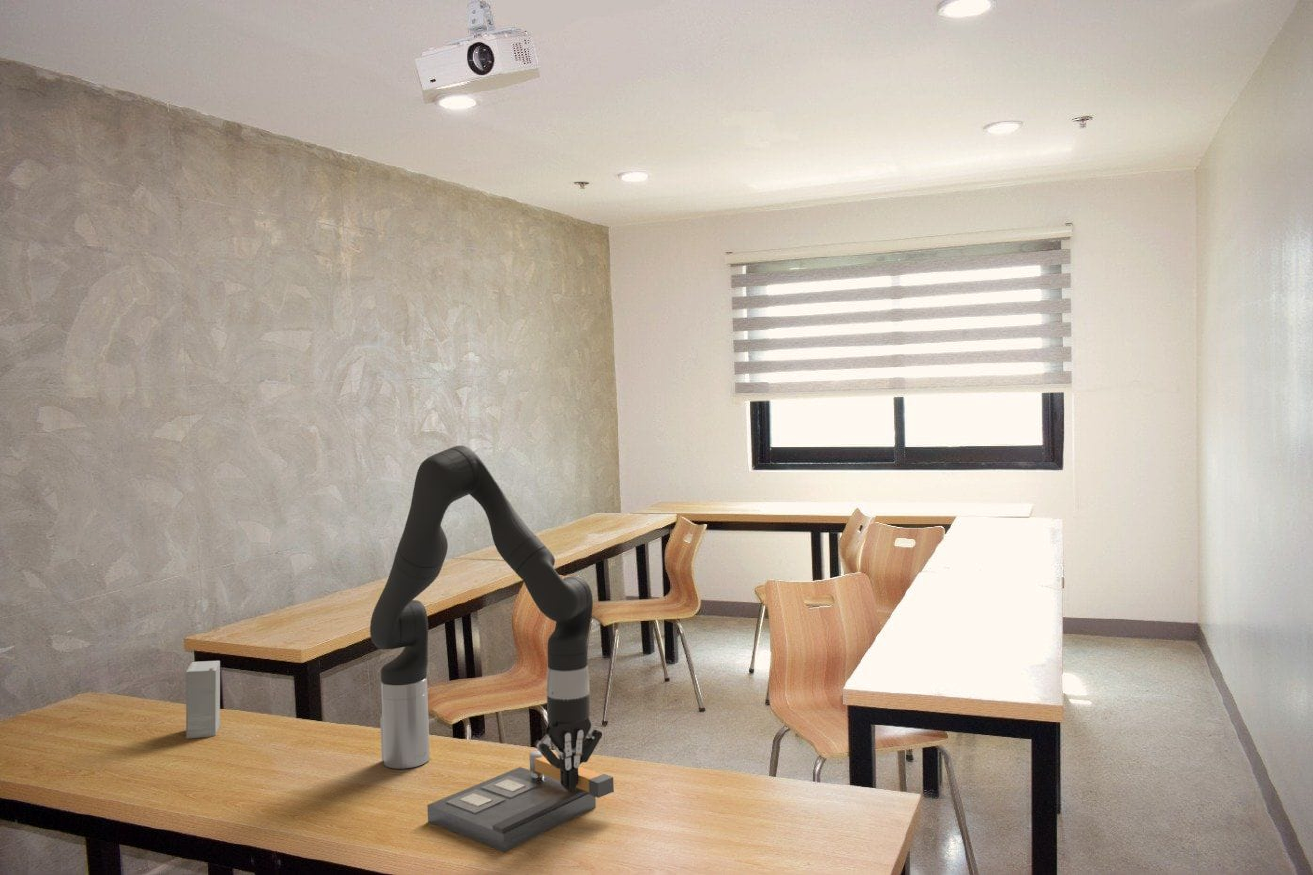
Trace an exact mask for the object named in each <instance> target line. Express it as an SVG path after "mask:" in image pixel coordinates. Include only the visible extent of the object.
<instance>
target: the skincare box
mask: <svg viewBox="0 0 1313 875" xmlns="http://www.w3.org/2000/svg"><path fill="white" fill-rule="evenodd" d="M185 677H186V678H185V680H186V681H185V684H186V685H185V686H186V687H185V688H186V689H185V692H186V693H185V698H186V699H185V707H186V708H185V710H186V711H185V715H186V716H185V717H186V718H185V723H186V724H185V725H186V726H185V728H186V729H185V738H186V740H188V739H189V740H190V739H199V738H208V737H209V738H210V737H215V736H217V734H218V731H219V727H220V722H221V721H220V720H221V718H220V717H221V715H220V714H221V712H220V711H221V702H220V701H221V661H220V660H206V661H205V660H204V661H203V660H202V661H192V662H191V663H190V664H189V666H188V667H187V669H186V671H185Z"/></svg>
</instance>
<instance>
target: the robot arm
mask: <svg viewBox="0 0 1313 875" xmlns="http://www.w3.org/2000/svg"><path fill="white" fill-rule="evenodd" d="M469 495H470V496H471V497H472V498H473V499H474V500H475V501H476V502H477V503H478V504H479V506H481V508H482V509H483V511H484V512H485V515H486V518H487V520H488V525H489V528H490V531H491V532H490V534H491V537H492V540H493V544H494V546H495V548H496V550H497V552H498V554H499V555H500V557H501V558H502V559H503V561H505V562H506V564H508V566H509V567H510V568H511V570H513V572H515V574H516V575H517V576H518V577H519V578H520V579H521V580H522V582H523V584H524V585H525V587H526V589H527V592H528V593H529V595H530V596H531V598H532V601H533V602H534V603H535V605H536V606H537V608H538V609H539V611H540V612H541V613H542V614H543V615H544V616H545V617H547V618H548V619H549V620H552V621H553V622H555V628H554V630H553V632H552V633H551V634H550V636H548V640H547V673H546V689H545V690H546V716H547V718H546V719H547V727H546V728H545V735H544V736H543V737H542V738H541V740H539V739H537V740H535V742H534V747H535V749H537V751H540V752H541V754H542V755H543V756H544V757H545V758H546V759H547V760H548V762H549V763H550V764H551V765H553V766H554V767H556V768H558V769H560V777H561V785H562V786H563V787H564V788H565V789H566V790H572V789H575V788H576V785H577V784H578V767H581V766H580V765H581V764H583V763H587V762H588V761H589V759H590V758H591V756H592V754H593V752H594V751H595V749H596V747H597V745H598V743H599V742H600V741H601V739H602V737H603V732H602V731H600V730H599V729H597V728H594V727H593V726H592V722H591V720H590V715H591V712H590V711H591V710H590V709H591V708H590V707H591V706H590V705H591V704H590V702H591V701H590V696H591V695H590V675H589V674H590V673H589V668H588V662H589V661H588V635H589V632H590V627H591V620H592V613H593V606H594V604H593V603H594V600H593V593H592V590H591V587H590V585H589V583H588V582H587V581H586V580H585V579H584V578H583V577H580V576H576V575H571V576H568V577H563V578H562V577H561V576H560V575H559V573H558V572H557V571H556V569H555V568H554V565H555V563H556V562H555V561H556V560H555V556H554V555H553V553H552V552H551V551H550V550H549V548H547V546H546V545H545V544H544V543H543V542H542V541H541V540H540V538H539V537H537V535H535V533H534V532H533V531H532V530H531V529H530V528H529V527H528V525H527V524H526V523H525V522H524V520H523V519H522V518H521V517H520V515H519V514H518V513H517V511H516V510H515V509H514V506H513V505H512V504H511V502H510V501H509V499H508V498H507V496H506V494H505V493H504V492H503V490H502V488H501V487H500V485H499V483H498V482H497V481H496V480H495V478H494V477H493V475H492V473H491V472H490V471H489V469H488V467H487V466H486V465H485V463H484V461H482V459H481V458H480V457H479V455H477V454H476V452H475V451H474V450H473V449H471V448H470V447H468V446H464V445H456V446H455V445H454V446H452V447H450V448H447V449H445V450H443V451H440V452H437V453H434V454H432V455H431V456H428V457H427V458H426V459H424V460H423V461H422V462H421V463H420V465H419V467H418V470H417V472H416V476H415V481H414V485H413V491H412V497H411V503H410V507H409V511H408V515H407V518H406V522H405V525H404V529H403V532H402V534H401V537H400V539H399V543H398V545H397V548H396V552H395V554H394V558H393V562H392V566H391V568H390V571H389V575H388V578H387V580H386V583H385V586H384V588H383V590H382V592H381V594H380V595H379V599H378V600H377V602H376V604H375V606H374V609H373V611H372V614H371V619H370V625H369V634H370V639H371V642H372V644H373V645H374V646H375V648H378V649H379V650H393V649H399V648H400V649H401V648H403V650H402V651H401V653H400V654H399V655H397V656H396V657H395V658H393V659H392V660H390V661H389V662H387V663H386V664H384V665H383V666H382V667H381V669H380V686H381V689H380V690H381V691H380V693H381V709H382V710H381V713H382V714H381V715H380V717H379V719H380V722H379V723H380V743H381V744H380V748H381V749H380V750H381V761H383V764H384V766H385V767H387V768H390V769H398V770H399V769H411V768H417V767H420V766H421V765H423V764H424V765H425V764H426V763H428V761H430V728H429V727H430V724H429V723H430V722H429V702H428V701H429V700H428V698H429V697H428V677H427V676H428V674H427V673H428V672H427V671H428V663H429V621H428V614H427V609H426V607H425V605H424V604H423V602H422V601H419V600H416V598H417V597H418V596H419V595H420V594H421V593H422V592H424V591H425V590H426V589H428V587H429V586H431V584H433V583H434V582H435V581H436V579H437V578H438V576H439V574H440V573H441V571H442V568H443V565H444V562H445V560H446V557H447V553H448V547H449V545H448V539H447V535H446V533H445V532H444V529H443V528H442V522H443V519H444V516H445V514H446V512H447V510H448V508H449V507H450V506H451V504H452V503H453V502H455V501H457V500H459V499H462V498H463V497H466V496H469ZM414 599H415V600H414ZM552 744H553V745H554V747H555V749H556V753H557V755H556V754H555V753H554V752H553V751H552Z"/></svg>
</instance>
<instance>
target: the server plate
mask: <svg viewBox="0 0 1313 875" xmlns="http://www.w3.org/2000/svg"><path fill="white" fill-rule="evenodd" d="M596 800H597V799H596V797H595V796H592V795H590V794H589V792H587V791H584V790H582V789H579V788H577V787H576V788H575V789H572V790H566V789H565V788H564V787H563V786H562V785H561V781H559V780H556V779H554V778H551V777H549V776H546V775H544V774H541V773H539V772H532V771H530V769H527V768H525V767H521V766H520V767H517V768H514V769H512V770H509V771H506V772H505V773H501V774H500V775H497V776H495V777H491V778H490V779H487V780H485V781H483V782H480V783H478V784H475V785H473V786H470V787H468V788H465V789H462V790H461V791H458V792H455V793H454V794H451V795H447V796H445V797H443V798H440V799H437V800H436V801H433V802H432V803H429V804H427V805H426V806H427V807H426V808H427V822H428V823H430V824H433V825H435V826H438V827H440V828H443V829H445V830H448V831H451V832H453V833H455V834H458V835H460V836H462V837H465V838H468V839H470V840H473V841H475V842H478V843H479V844H482V845H486V846H487V847H490V848H493V849H495V850H497V851H500V852H502V853H505V852H507V851H509V850H511V849H513V848H516V847H517V846H519V845H522V844H523V843H525V842H527V841H529V840H531V839H533V838H535V837H537V836H539V835H541V834H543V833H546V832H547V831H550V830H551V829H552V830H553V829H554V828H556V827H558V826H560V825H562V824H564V823H567V822H568V821H570V820H573V819H574V818H577V817H578V816H581V815H582V814H584V813H586V812H589V811H590V810H593V809H594V808H596V804H597V802H596Z"/></svg>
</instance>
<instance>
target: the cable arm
mask: <svg viewBox="0 0 1313 875" xmlns="http://www.w3.org/2000/svg"><path fill="white" fill-rule="evenodd" d="M528 755H529V770H530V771H532V772H539V773H541V774H544V775H546V776H549V777H551V778H554V779H556V780H559V781H561V777H560V769H558V768H556V767H554V766H553V765H551V764H550V763H549V762H548V760H547V759H546V758H545V757H544V756H543V755H542V754H541V752H540V751H539V750H533V751H531V752H529V754H528ZM614 786H615V785H614V777H613V776H611V775H608V774H605V773H603V774H601V773H598V772H596V771H593V770H589V769H587V768H585V767H582V766H579V767H578V784H577V785H576V787H577V788H579V789H582V790H584V791H587V792H589V794H590V795H592V796H595V798H598V799H599V798H601V797H605V796H607V795H609V794H611V793H614V791H615V790H614V789H615V788H614Z"/></svg>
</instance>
